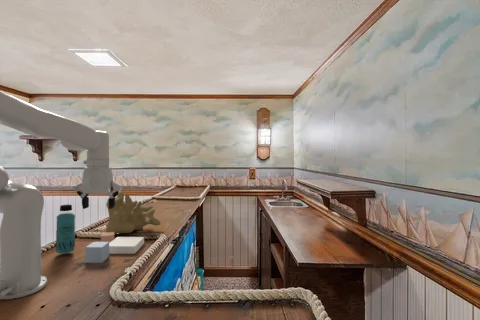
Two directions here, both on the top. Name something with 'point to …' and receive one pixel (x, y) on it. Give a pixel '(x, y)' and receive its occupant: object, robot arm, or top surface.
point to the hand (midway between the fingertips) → (98, 208)
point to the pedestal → (125, 245)
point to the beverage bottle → (65, 230)
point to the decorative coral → (129, 215)
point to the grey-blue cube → (97, 252)
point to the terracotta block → (107, 237)
